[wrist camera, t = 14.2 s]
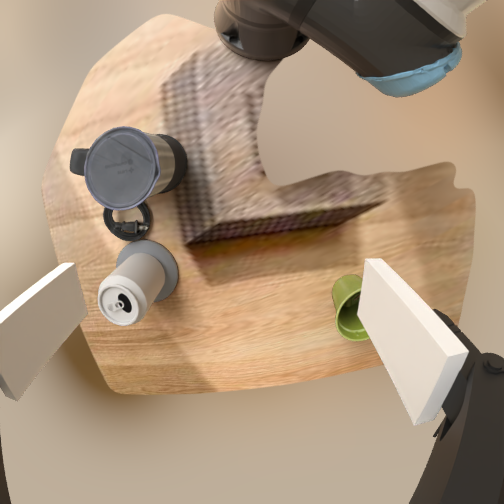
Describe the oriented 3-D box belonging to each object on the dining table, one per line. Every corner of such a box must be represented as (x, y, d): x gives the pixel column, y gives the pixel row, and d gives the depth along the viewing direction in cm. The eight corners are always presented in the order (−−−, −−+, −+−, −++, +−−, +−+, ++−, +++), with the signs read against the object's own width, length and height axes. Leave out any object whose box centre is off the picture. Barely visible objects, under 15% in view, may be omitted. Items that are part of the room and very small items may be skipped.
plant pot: (383, 283, 48) (404, 306, 40) (348, 322, 50) (363, 350, 42) (347, 254, 46) (366, 274, 38) (311, 297, 49) (322, 324, 40)
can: (172, 288, 47) (151, 327, 36) (134, 296, 47) (106, 333, 36) (158, 246, 45) (129, 275, 33) (119, 256, 45) (84, 286, 34)
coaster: (113, 241, 45) (111, 242, 44) (173, 237, 45) (172, 239, 44) (124, 299, 49) (123, 301, 48) (182, 300, 49) (181, 302, 48)
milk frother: (185, 129, 40) (154, 117, 26) (197, 231, 45) (174, 265, 31) (102, 147, 40) (48, 147, 26) (116, 240, 45) (70, 273, 31)
